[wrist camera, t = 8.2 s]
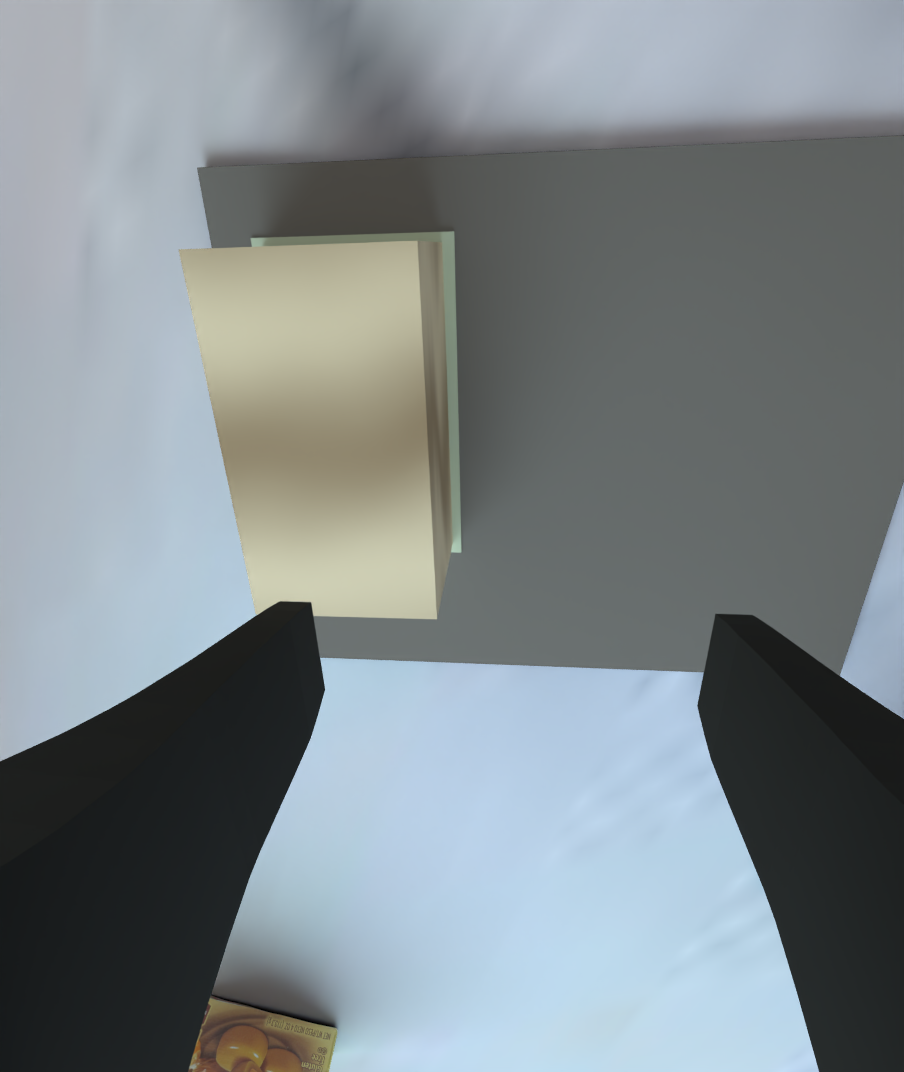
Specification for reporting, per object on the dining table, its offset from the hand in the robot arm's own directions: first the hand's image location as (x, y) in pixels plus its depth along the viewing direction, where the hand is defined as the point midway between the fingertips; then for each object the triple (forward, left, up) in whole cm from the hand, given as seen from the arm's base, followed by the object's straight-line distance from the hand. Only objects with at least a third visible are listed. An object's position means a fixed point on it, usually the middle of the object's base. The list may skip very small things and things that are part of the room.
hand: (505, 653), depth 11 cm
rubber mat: (-2, -1, -9) cm, 9 cm away
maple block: (+4, -2, -9) cm, 10 cm away
